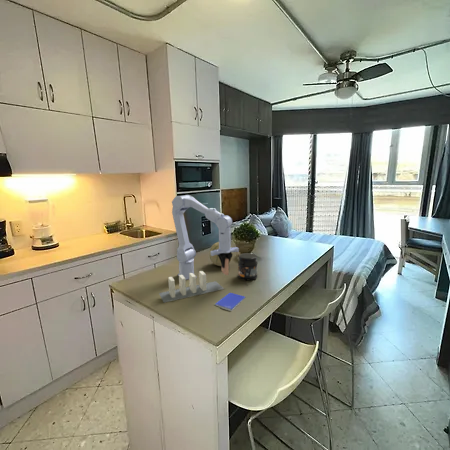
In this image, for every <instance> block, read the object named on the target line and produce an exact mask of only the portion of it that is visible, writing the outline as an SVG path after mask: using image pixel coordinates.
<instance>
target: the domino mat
mask: <svg viewBox="0 0 450 450" xmlns="http://www.w3.org/2000/svg"><path fill="white" fill-rule="evenodd" d="M220 290H225V288H224V287H223V286H222V285H221V284H220V283H218V282H217V281H216V280H215V281H210V282H206V291H203V290H202V289H201V288H200V284H196V292H197V293H193V292H192V291H191V290H190V286H186V295H182V294H181V292H180V288H177V289H176V288H175V297H174V298H172V297H171V296H170V294H169V290H167V291H162V292H159V293H158V295H159V296H160V298H161V301H162V302H163V303H168V302H172V301H177V300H182V299H186V298H191V297H193V296H194V297H195V296H199V295H203V294H208V293H211V292H218V291H220Z"/></svg>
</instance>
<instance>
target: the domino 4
mask: <svg viewBox="0 0 450 450" xmlns="http://www.w3.org/2000/svg"><path fill="white" fill-rule="evenodd" d="M198 281H199V284H198V285H200V288H201V289H202V290H203V291H206V283H207V274H206V273H205V272H204V271H203V270H199V271H198Z"/></svg>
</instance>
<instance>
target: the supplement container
mask: <svg viewBox="0 0 450 450" xmlns="http://www.w3.org/2000/svg"><path fill="white" fill-rule="evenodd" d="M237 268H238V269H237V276H238V278H239V279H241V280H243V281H253V280H255V279H257V278H258V255H256V254H255V253H250V252H246V253H245V252H244V253H240V254H239V255H238V261H237Z"/></svg>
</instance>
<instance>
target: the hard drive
mask: <svg viewBox="0 0 450 450" xmlns="http://www.w3.org/2000/svg"><path fill="white" fill-rule="evenodd" d="M245 298H246V296H244V295H240V294H236V293H233V292H229V293H228V294H226V295H225V296H224V297H222V298H221V299H219V300H218V301H217V302H216V303H214V306H217V307H219V308H220V309H223V310H226V311H229V312H232V311H234V310H235V309H236V308H237V307H238V306H239V305H240V304H241V303H242V301H243V300H245Z"/></svg>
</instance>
